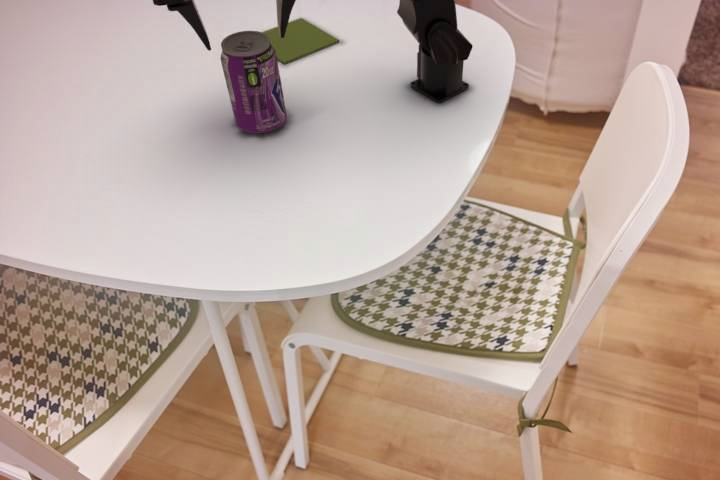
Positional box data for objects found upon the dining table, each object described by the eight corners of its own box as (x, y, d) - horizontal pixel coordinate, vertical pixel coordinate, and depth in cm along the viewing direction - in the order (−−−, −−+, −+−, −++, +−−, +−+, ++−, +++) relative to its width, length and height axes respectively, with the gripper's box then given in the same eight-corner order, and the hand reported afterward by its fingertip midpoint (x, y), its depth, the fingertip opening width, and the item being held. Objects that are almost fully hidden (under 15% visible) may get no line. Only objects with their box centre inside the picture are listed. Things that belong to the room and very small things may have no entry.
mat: (339, 42, 102) (339, 39, 102) (284, 64, 97) (284, 62, 97) (301, 20, 108) (301, 17, 107) (247, 40, 103) (247, 37, 102)
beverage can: (277, 140, 83) (262, 58, 74) (228, 134, 84) (207, 52, 75) (294, 111, 88) (281, 31, 79) (247, 106, 89) (230, 26, 80)
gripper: (287, -125, 73) (303, 5, 85) (125, -107, 69) (165, 27, 81) (309, -96, 66) (323, 41, 77) (129, -75, 62) (172, 67, 73)
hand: (246, 42), depth 77 cm, fingers open, 9 cm apart
